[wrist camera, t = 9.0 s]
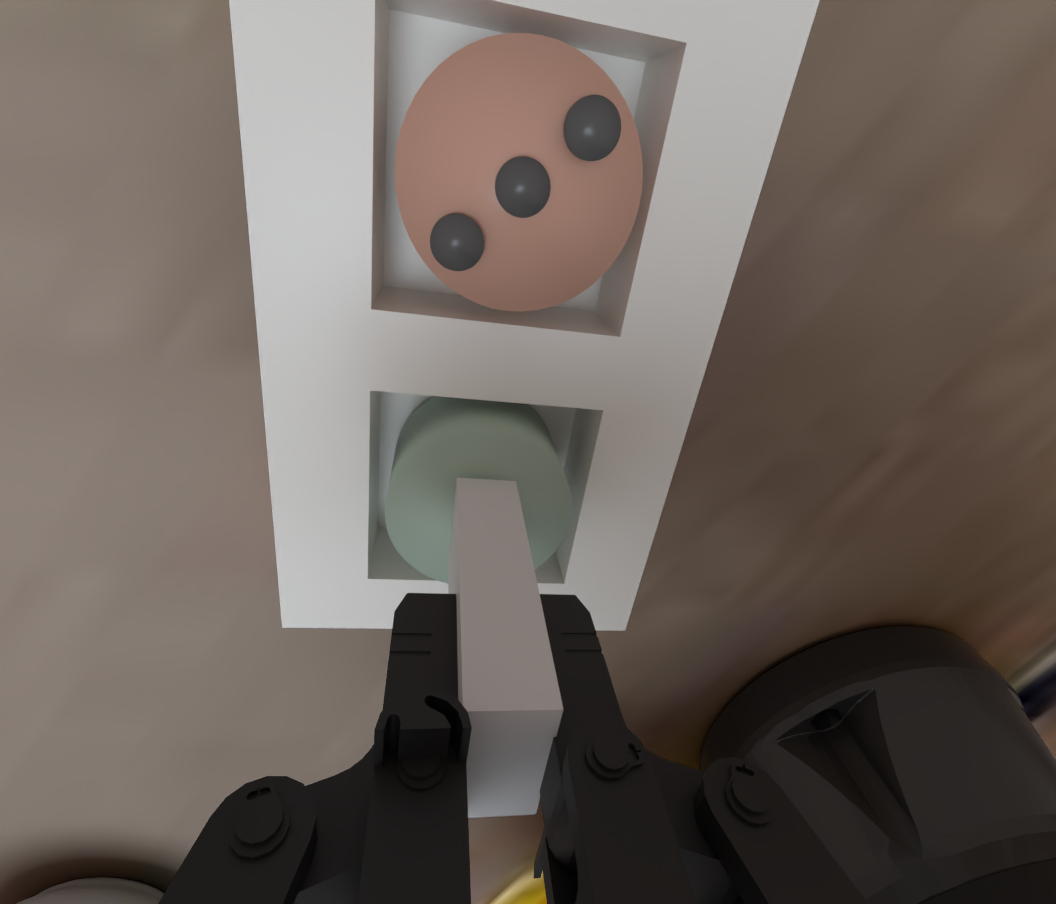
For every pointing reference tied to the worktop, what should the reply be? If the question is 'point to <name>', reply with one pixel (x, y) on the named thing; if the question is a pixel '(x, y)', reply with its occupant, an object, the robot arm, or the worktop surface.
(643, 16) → the button panel
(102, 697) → the worktop surface
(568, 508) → the one pip button
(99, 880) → the teacup
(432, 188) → the three pip button
